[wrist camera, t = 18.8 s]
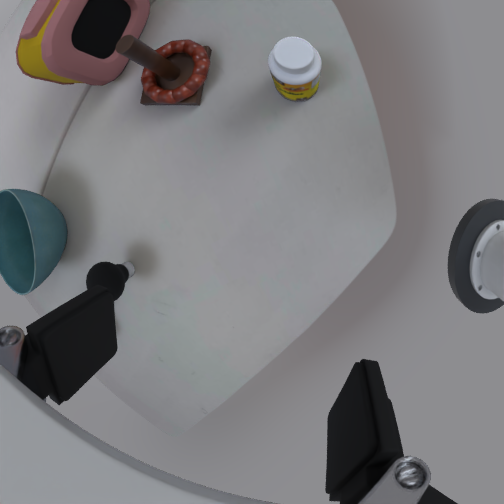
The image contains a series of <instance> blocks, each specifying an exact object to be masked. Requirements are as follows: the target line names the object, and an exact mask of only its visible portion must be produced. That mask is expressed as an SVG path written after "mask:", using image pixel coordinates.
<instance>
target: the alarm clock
mask: <svg viewBox="0 0 504 504" xmlns="http://www.w3.org/2000/svg"><path fill="white" fill-rule="evenodd" d="M149 10H150V3H149V0H37V1H36V2H35V4H34V6H33V7H32V9H31V11H30V13H29V15H28V17H27V19H26V21H25V23H24V25H23V28H22V31H21V34H20V37H19V41H18V44H17V48H16V59H17V65H18V66H19V68H20V69H21V71H22V73H23V74H25V75H27V76H29V77H31V78H35V79H40V80H45V81H50V82H54V83H59V84H63V85H64V84H74V83H86V84H90V85H105V84H107V83H109V82H111V81H113V80H115V78H116V77H117V76H118V75H119V74H120V73H121V72H122V71H123V69H124V67H125V66H126V64H127V62H128V60H129V58H127V57H125V56H123V55H121V54H119V53H117V52H116V49H115V48H116V44H117V42H118V41H119V40H120V39H121V38H122V37H123V36H125V35H132V36H134V37H135V38H137V39H138V38H139V36H140V34H141V32H142V30H143V28H144V26H145V24H146V21H147V19H148V16H149Z"/></svg>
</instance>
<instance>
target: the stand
mask: <svg viewBox="0 0 504 504" xmlns="http://www.w3.org/2000/svg"><path fill="white" fill-rule="evenodd" d="M203 47H204V48H205V50H206V53H207V55H208V57H209V59H210V55H211V51H212V50H211V49H210V47H209V46H203ZM115 49H116V52H117V53H119V54H121V55H123V56H125V57H127V58H129V59H130V60H132V61H134V62H136V63H138V64H140V65H141V66H143V67H145V68H147V69H149V70H150V71H152V72H154V73H156V76H155V79H156V82H157V85H158V86H159V87H161V88H162V89H164V90H173V89H175V88H177V87H179V86H181V85H183V84H184V83H185V82H186V81H187V80H188V78H189V77H190V76H191V75H192V72H193V68H194V61H193V59H192V56H190V55H189V54H187V53H185V52H183V53H174V54H172V55H171V56H169V57H167V58H164V57H163V56H162V55H160V54H159V53H157V52H156V51H155V50H153V49H152V48H150V47H149V46H147V45H146V44H144V43H143V42H141V41H140V40H138V39H137V38H135V37H134V36H132V35H125V36H123V37H122V38H121V39H120V40H119V41H118V42H117V44H116V48H115ZM203 86H204V83H203V84H202V85H201V87H200V88H199V89H198V90H197V91H196V93H195V94H194V95H192V96H190V97H188V98H186V99H184V100H182V101H180V102H178V103H175V104H159V103H157V102H155V101H154V100H152V99H151V98H150V97H148V96H147V95H146V94H145V92H144V89H143V93H142V97H141V102H140V103H141V104H143V105H200V101H201V96H202V91H203Z"/></svg>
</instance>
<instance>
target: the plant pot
mask: <svg viewBox="0 0 504 504" xmlns="http://www.w3.org/2000/svg"><path fill="white" fill-rule="evenodd" d="M66 240H67V226H66V222H65V219H64V217H63V215H62V213H61V212H60V210H59V209H58V208H57V207H56V206H55V205H54V204H52V203H51V202H50V201H49V200H47V199H46V198H44V197H43V196H41V195H39V194H36V193H34V192H31V191H27V190H21V189H5V190H2V191H0V274H1V276H2V277H3V279H4V281H5V282H6V284H7V285H8V286H9V287H10V288H11V289H12V290H13V291H14V292H16V293H17V294H20V295H26V294H28V293H30V292H31V291H33V290H34V289H35V288H37V287H38V286H39V285H40V284H41V283H42V282H43V281H44V280H45V279H46V278H47V277H48V276H49V275H50V274H51V272H52V271H53V270H54V268H55V267H56V265H57V263H58V262H59V260H60V258H61V255H62V253H63V250H64V247H65V244H66Z"/></svg>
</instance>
